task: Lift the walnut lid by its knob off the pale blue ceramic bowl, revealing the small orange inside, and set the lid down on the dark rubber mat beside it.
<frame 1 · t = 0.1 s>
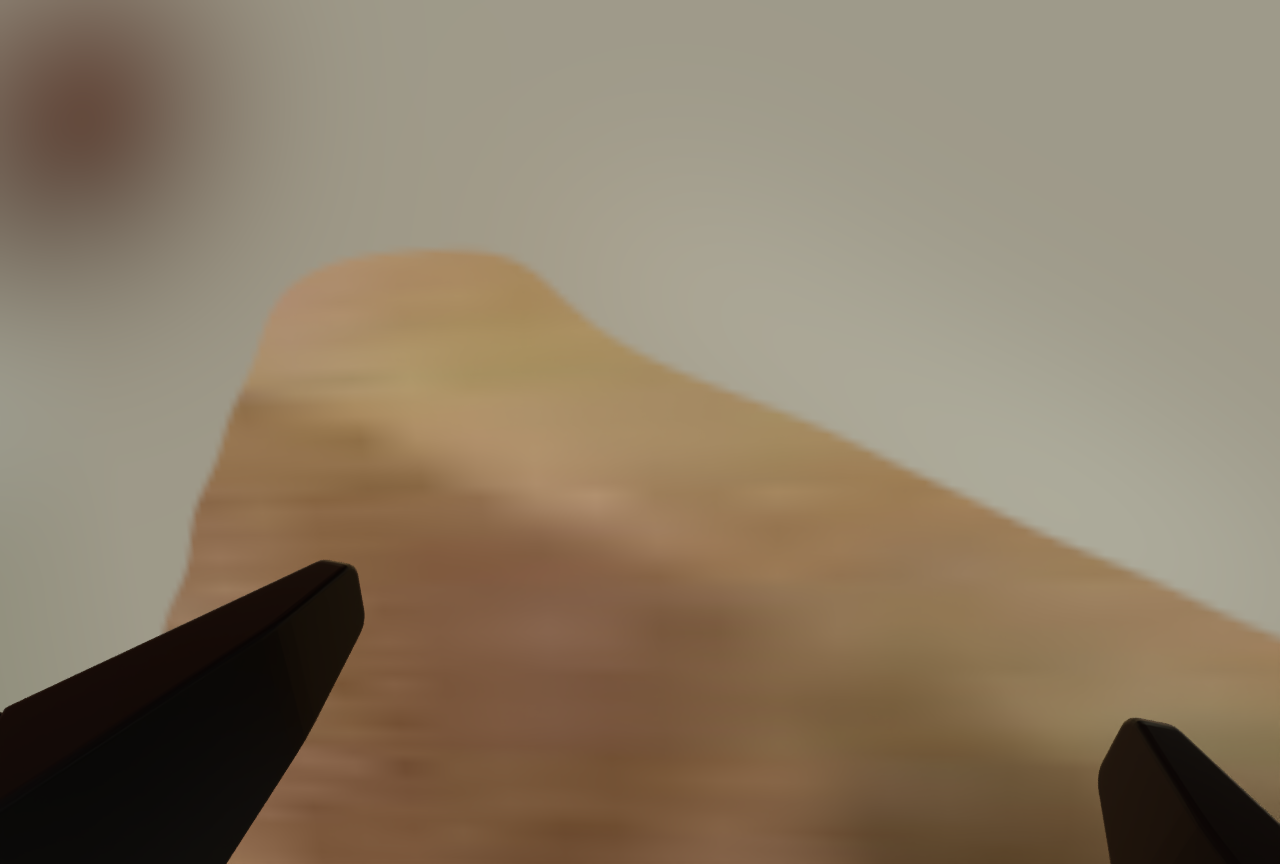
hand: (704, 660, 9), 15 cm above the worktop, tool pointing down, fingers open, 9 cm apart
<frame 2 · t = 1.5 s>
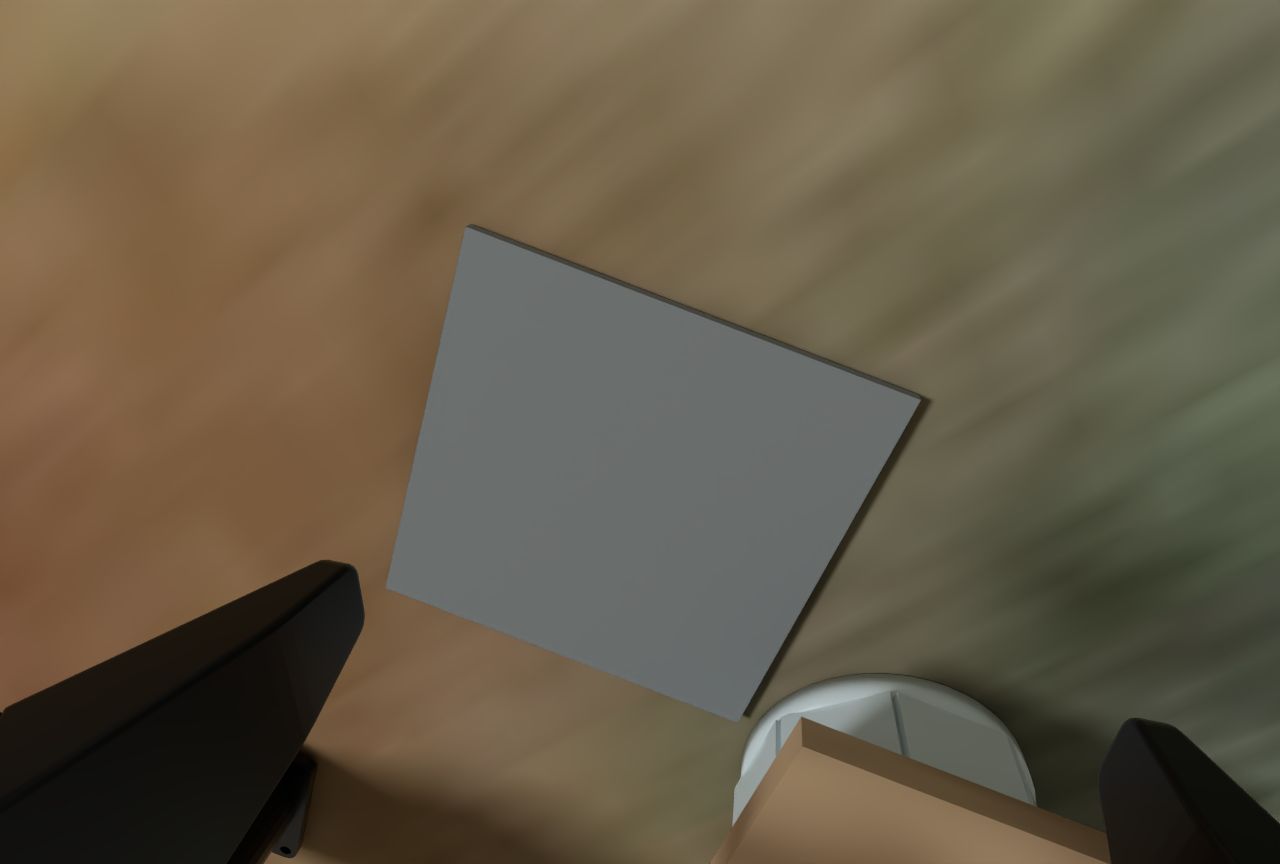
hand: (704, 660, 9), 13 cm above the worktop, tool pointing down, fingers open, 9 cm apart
bowl: (878, 779, 26), on the worktop
mat: (621, 499, 23), on the worktop
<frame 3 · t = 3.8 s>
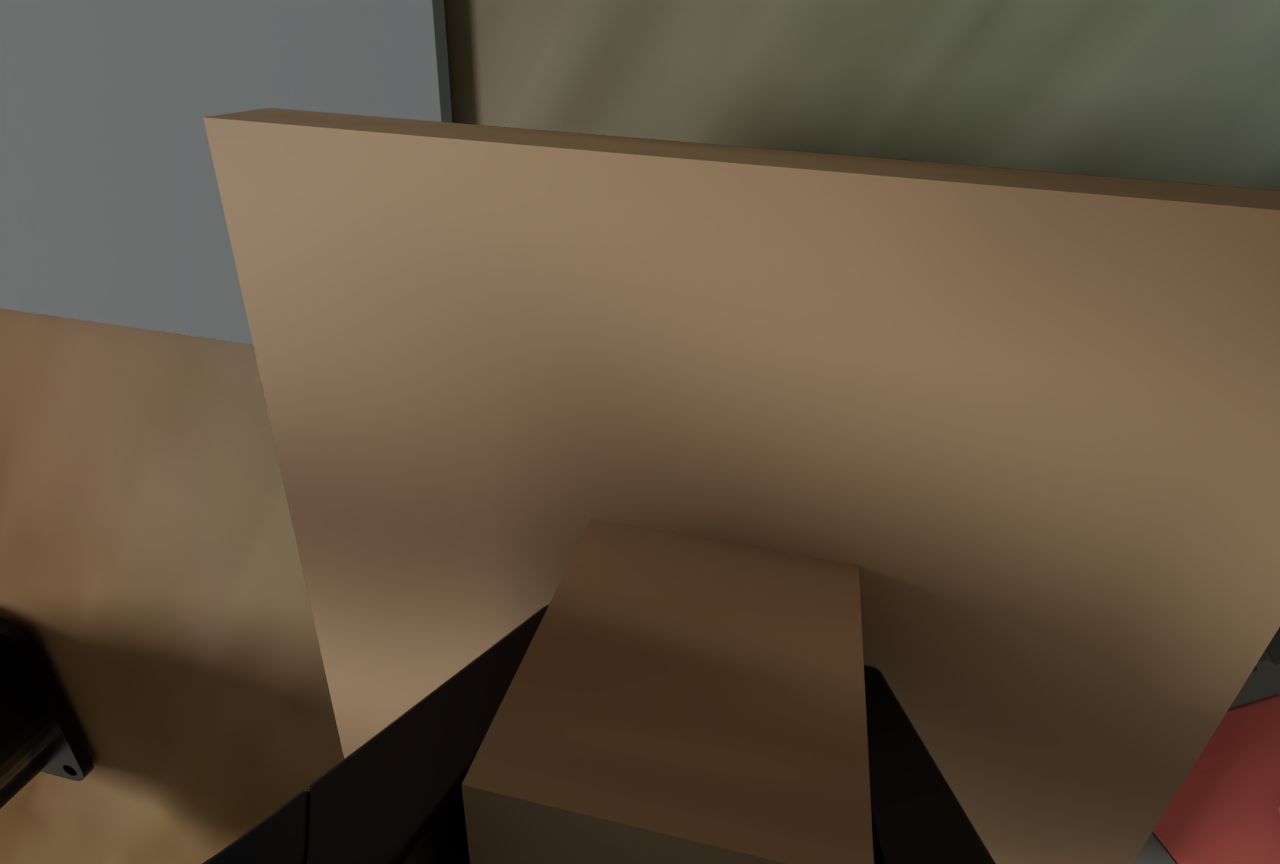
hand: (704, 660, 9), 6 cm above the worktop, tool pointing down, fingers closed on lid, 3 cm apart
lid: (719, 587, 10), point 4 cm above the worktop, touching bowl, gripper
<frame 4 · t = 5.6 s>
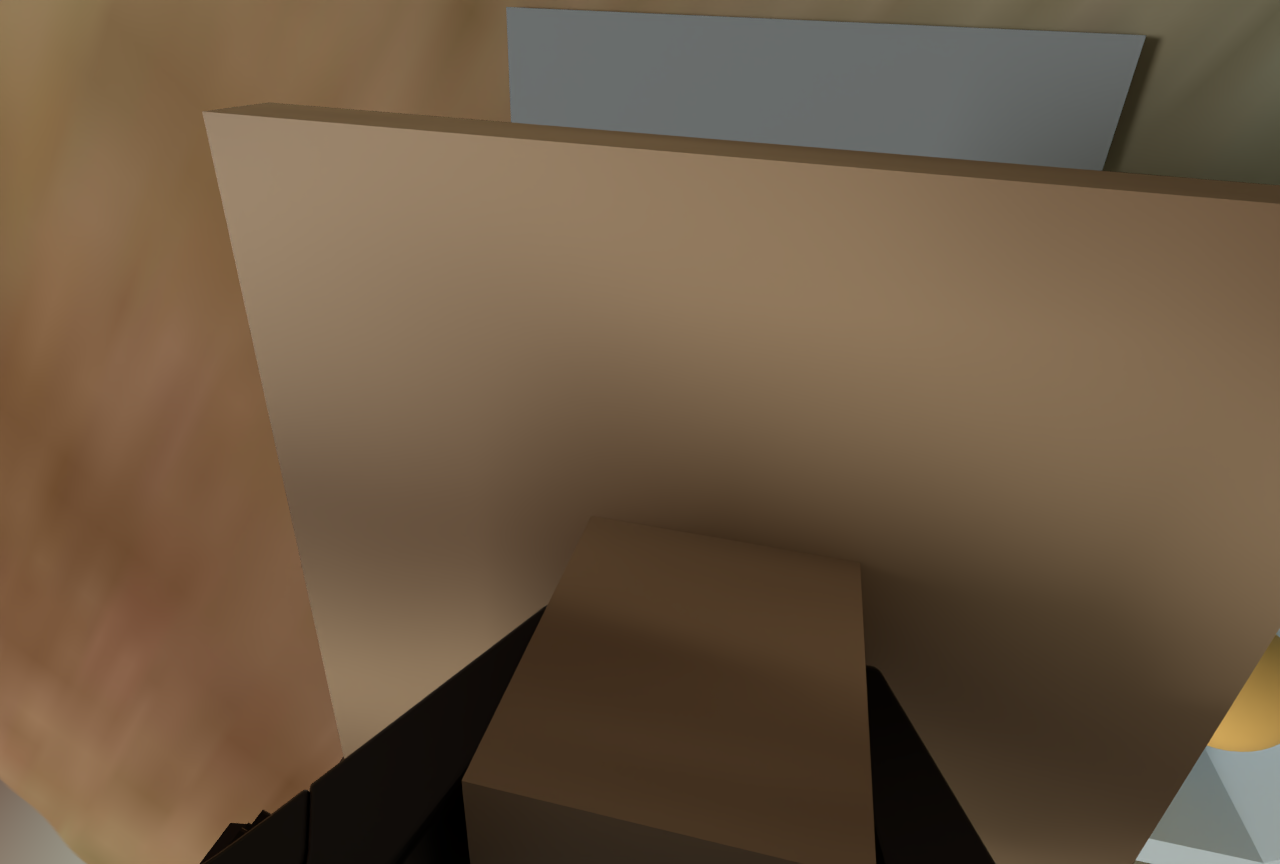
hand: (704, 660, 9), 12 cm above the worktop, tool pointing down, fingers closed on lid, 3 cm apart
bowl: (1179, 607, 20), on the worktop
mat: (766, 312, 19), on the worktop
lid: (719, 585, 10), point 11 cm above the worktop, touching gripper
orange: (1221, 679, 18), point 3 cm above the worktop, touching bowl
when the fingers open (3 cm above the worktop, at t = 7.5 s): lid drops 1 cm, resting on mat.
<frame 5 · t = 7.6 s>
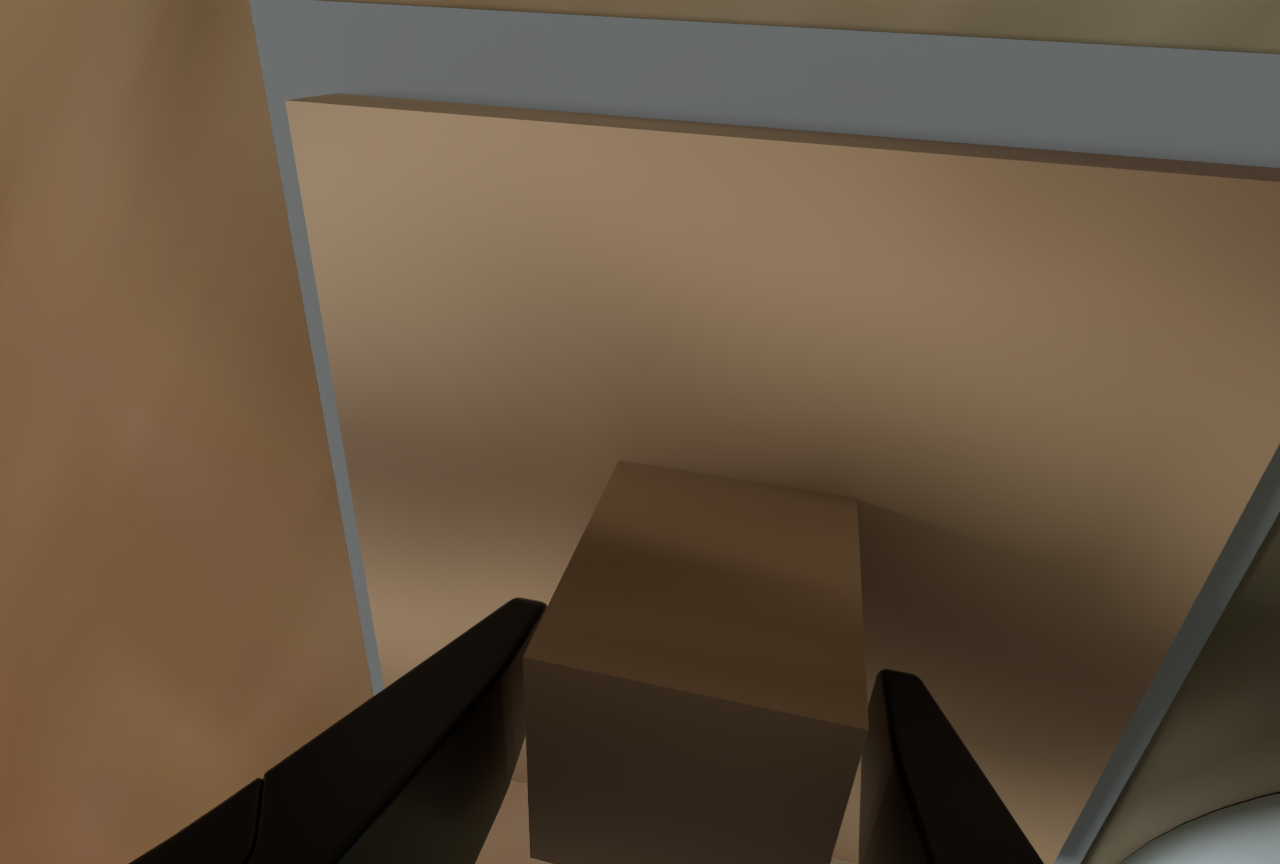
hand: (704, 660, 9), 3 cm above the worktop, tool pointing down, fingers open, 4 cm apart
mat: (735, 514, 11), on the worktop
lid: (731, 529, 11), resting on mat
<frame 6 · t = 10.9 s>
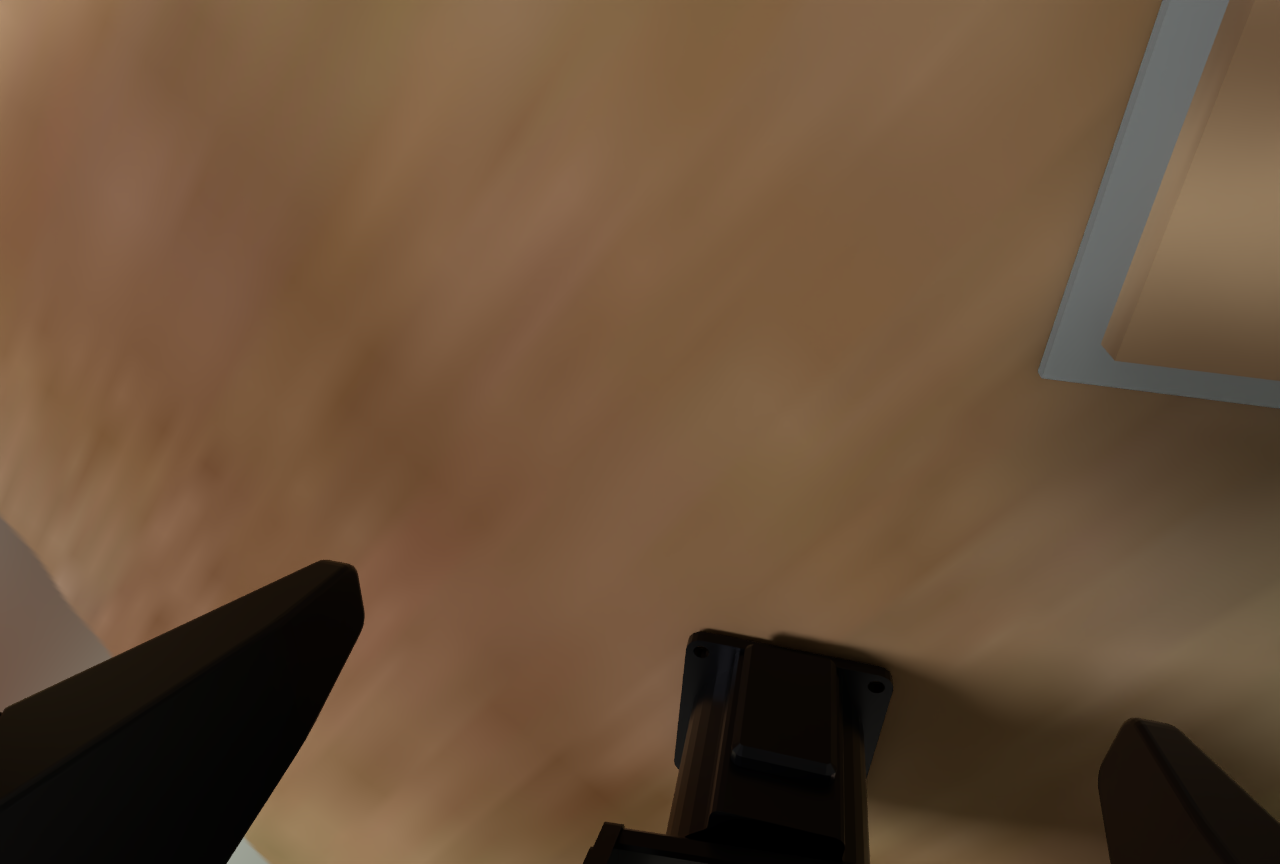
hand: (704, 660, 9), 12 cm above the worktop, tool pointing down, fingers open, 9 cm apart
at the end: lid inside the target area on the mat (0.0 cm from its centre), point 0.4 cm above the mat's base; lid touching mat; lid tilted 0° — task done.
